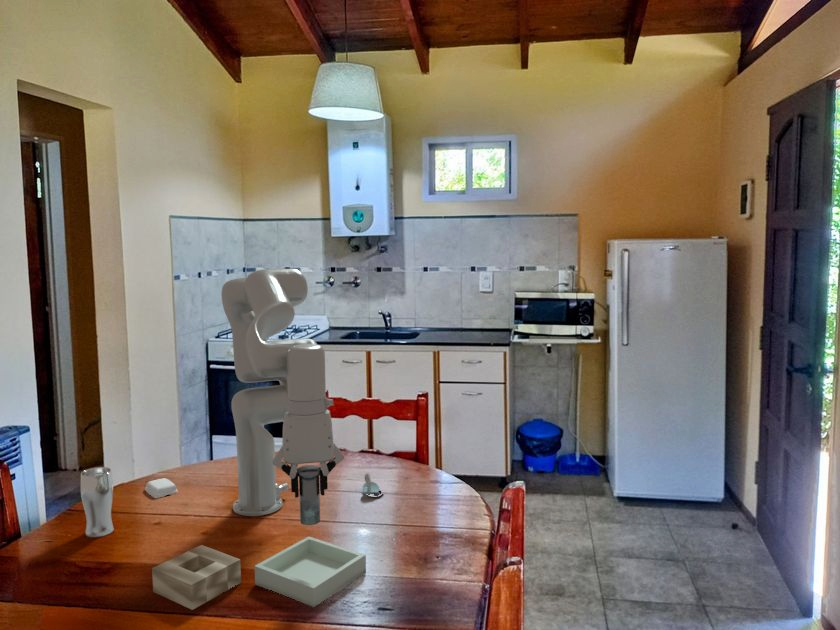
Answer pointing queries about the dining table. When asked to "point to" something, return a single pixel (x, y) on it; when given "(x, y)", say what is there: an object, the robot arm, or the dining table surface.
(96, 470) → the beer glass
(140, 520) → the dining table surface
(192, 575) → the pin block
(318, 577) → the tray
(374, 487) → the pacifier
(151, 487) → the soap
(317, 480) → the steel pin
